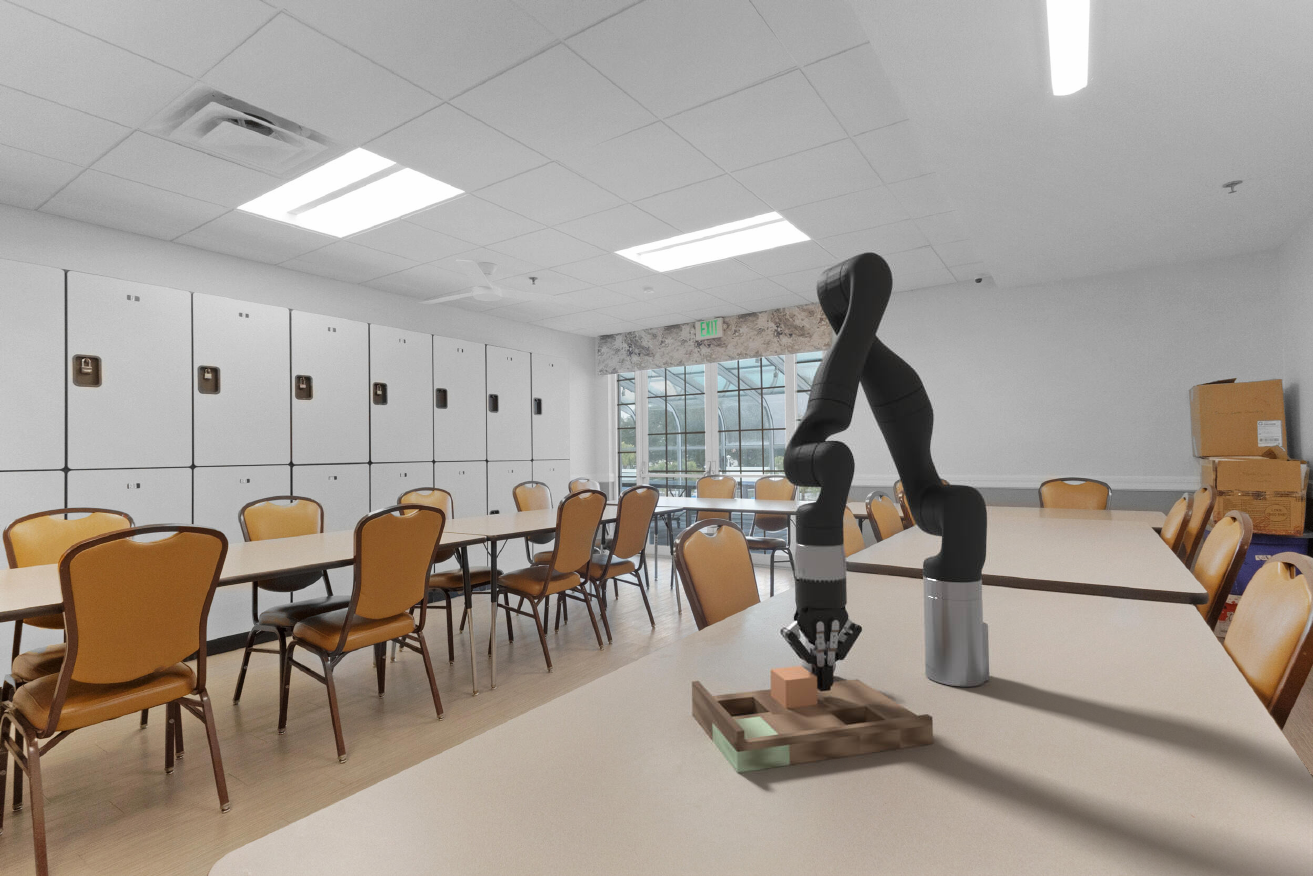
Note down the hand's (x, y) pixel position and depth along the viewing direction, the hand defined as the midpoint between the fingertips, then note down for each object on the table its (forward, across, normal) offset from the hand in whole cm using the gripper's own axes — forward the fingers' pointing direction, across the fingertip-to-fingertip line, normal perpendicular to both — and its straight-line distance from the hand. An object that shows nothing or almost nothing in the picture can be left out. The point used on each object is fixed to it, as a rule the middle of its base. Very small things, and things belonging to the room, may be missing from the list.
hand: (822, 689), depth 96 cm
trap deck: (+4, +5, +4) cm, 7 cm away
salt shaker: (+4, -7, -14) cm, 16 cm away
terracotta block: (+1, +5, 0) cm, 5 cm away
